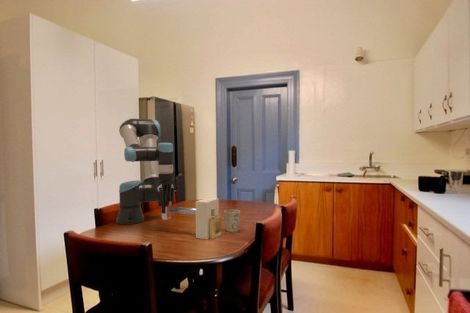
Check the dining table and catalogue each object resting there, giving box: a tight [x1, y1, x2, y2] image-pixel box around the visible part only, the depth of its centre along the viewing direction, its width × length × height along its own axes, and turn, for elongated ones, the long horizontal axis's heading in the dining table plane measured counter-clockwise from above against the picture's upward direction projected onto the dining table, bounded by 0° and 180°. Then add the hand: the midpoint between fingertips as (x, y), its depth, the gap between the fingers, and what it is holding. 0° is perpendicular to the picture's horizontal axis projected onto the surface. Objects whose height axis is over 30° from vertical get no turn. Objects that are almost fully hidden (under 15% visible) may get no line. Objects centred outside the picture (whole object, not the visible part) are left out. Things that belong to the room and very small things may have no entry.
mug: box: [223, 208, 241, 233], centre depth 152 cm, size 8×13×10 cm, turn 27°
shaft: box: [160, 201, 196, 219], centre depth 146 cm, size 27×3×8 cm, turn 67°
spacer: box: [209, 215, 223, 240], centre depth 139 cm, size 2×9×9 cm, turn 157°
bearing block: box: [195, 197, 220, 240], centre depth 141 cm, size 6×12×17 cm, turn 157°
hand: (166, 218), depth 151 cm, fingers closed on shaft, 2 cm apart
